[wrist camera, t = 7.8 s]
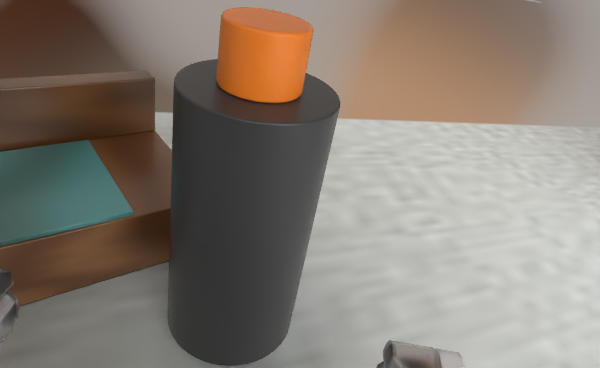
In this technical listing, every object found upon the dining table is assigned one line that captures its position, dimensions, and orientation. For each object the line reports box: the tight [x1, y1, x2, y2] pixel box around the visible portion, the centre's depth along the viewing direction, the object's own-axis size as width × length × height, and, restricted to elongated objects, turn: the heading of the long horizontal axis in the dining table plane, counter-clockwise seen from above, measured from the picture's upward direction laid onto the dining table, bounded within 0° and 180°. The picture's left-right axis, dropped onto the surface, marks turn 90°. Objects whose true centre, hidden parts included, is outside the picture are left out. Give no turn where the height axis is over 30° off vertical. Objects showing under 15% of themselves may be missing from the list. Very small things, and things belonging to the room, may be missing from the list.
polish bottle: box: [168, 7, 340, 365], centre depth 16 cm, size 5×5×12 cm
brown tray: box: [0, 71, 172, 306], centre depth 19 cm, size 14×8×6 cm, turn 126°
